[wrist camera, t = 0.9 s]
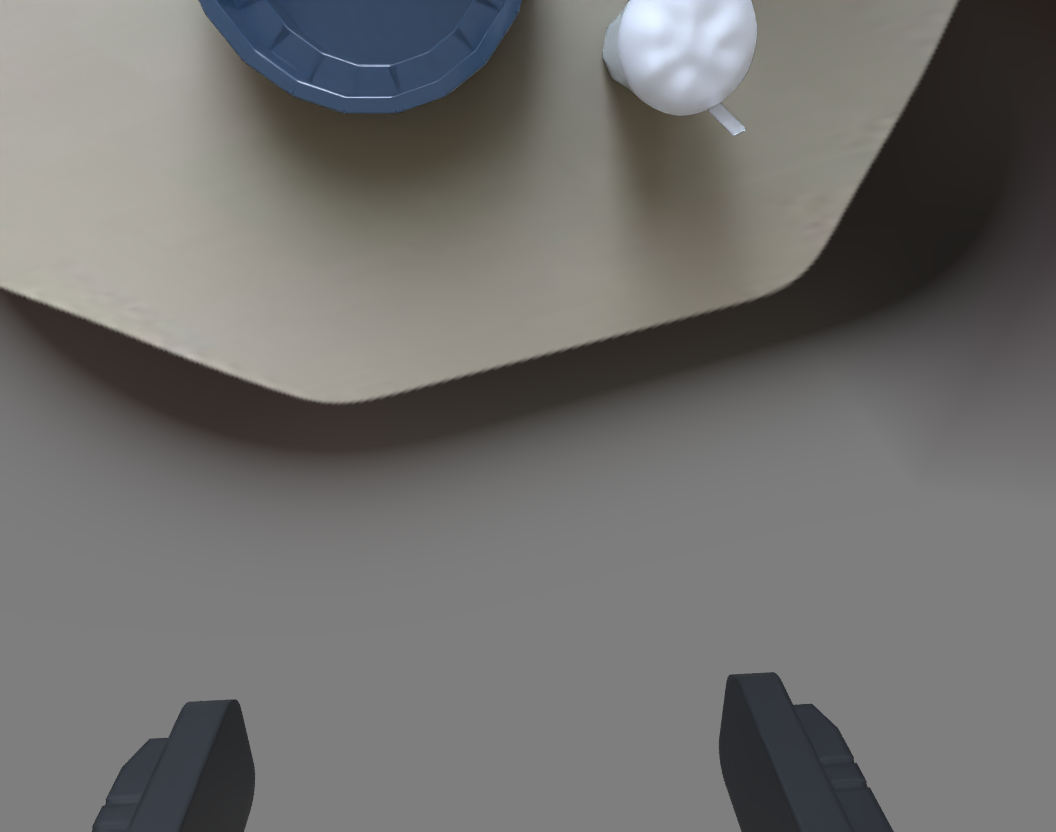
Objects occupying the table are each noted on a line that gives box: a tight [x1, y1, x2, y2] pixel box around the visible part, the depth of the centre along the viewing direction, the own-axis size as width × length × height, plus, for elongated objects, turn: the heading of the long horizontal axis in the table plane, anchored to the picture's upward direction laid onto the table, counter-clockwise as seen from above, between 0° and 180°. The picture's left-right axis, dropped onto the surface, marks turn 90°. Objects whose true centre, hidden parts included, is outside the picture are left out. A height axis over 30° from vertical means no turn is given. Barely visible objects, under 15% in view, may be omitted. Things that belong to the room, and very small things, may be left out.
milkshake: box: [602, 0, 757, 136], centre depth 28 cm, size 4×5×10 cm
